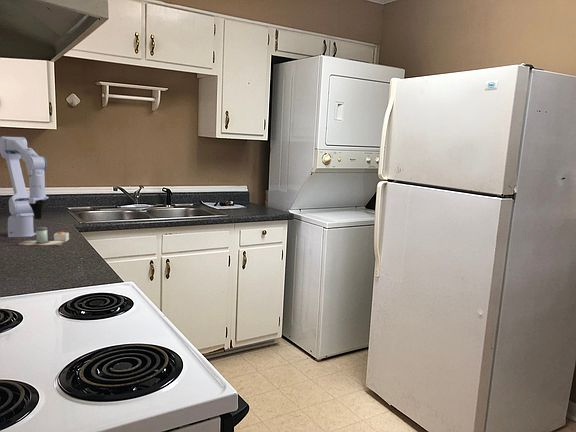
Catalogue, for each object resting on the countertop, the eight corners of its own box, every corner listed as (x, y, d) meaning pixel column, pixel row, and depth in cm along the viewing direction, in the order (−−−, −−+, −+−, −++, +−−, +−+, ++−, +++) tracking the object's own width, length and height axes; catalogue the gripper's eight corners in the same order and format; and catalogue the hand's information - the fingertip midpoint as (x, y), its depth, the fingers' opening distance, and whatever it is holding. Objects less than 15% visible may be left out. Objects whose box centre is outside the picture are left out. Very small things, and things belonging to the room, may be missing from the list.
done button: (57, 240, 202) (56, 233, 202) (59, 238, 205) (58, 231, 205) (64, 240, 203) (63, 233, 202) (66, 238, 206) (65, 231, 205)
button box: (54, 241, 201) (53, 234, 201) (57, 239, 206) (57, 232, 206) (65, 241, 202) (65, 234, 202) (68, 239, 207) (68, 232, 206)
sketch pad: (17, 245, 192) (17, 244, 191) (25, 241, 199) (24, 240, 199) (60, 245, 194) (60, 244, 194) (66, 241, 202) (65, 240, 202)
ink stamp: (35, 243, 194) (34, 228, 193) (38, 241, 198) (38, 227, 197) (45, 243, 195) (45, 228, 194) (49, 241, 199) (48, 227, 198)
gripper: (41, 188, 192) (42, 221, 194) (53, 184, 206) (54, 216, 208) (22, 187, 191) (23, 221, 193) (35, 184, 205) (36, 215, 207)
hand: (38, 218), depth 200 cm, fingers closed
